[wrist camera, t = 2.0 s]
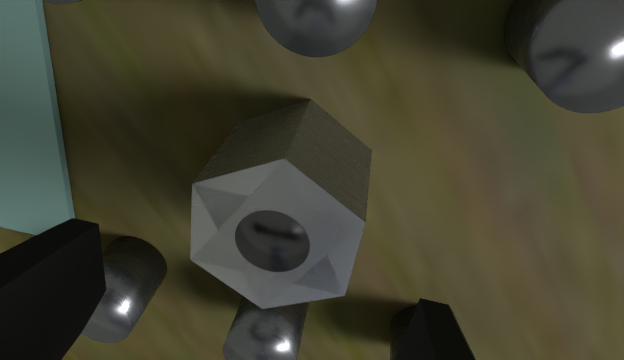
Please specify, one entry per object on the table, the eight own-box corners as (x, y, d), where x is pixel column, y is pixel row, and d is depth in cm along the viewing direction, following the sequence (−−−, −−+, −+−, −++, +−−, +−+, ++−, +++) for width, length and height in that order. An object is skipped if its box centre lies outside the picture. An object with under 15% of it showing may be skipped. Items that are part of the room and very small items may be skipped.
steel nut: (348, 240, 16) (336, 327, 13) (231, 214, 16) (189, 292, 13) (381, 113, 14) (377, 179, 10) (242, 84, 14) (192, 138, 10)
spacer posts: (445, 357, 18) (453, 428, 16) (109, 277, 19) (65, 333, 16) (635, -22, 11) (711, -3, 8) (65, -131, 11) (-30, -146, 9)
